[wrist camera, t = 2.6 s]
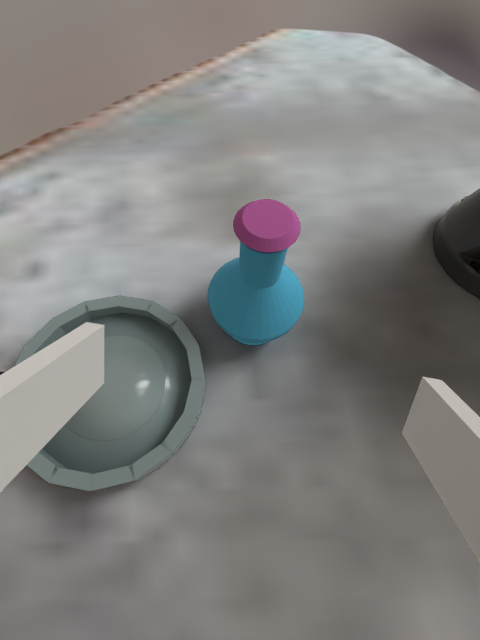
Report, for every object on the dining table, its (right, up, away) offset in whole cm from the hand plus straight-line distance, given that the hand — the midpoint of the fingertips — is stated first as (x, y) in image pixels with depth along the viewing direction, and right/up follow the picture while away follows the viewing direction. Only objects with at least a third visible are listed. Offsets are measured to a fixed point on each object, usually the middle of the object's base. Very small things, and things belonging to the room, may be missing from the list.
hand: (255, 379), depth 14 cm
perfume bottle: (+1, +3, +22) cm, 22 cm away
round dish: (-13, -4, +18) cm, 23 cm away
